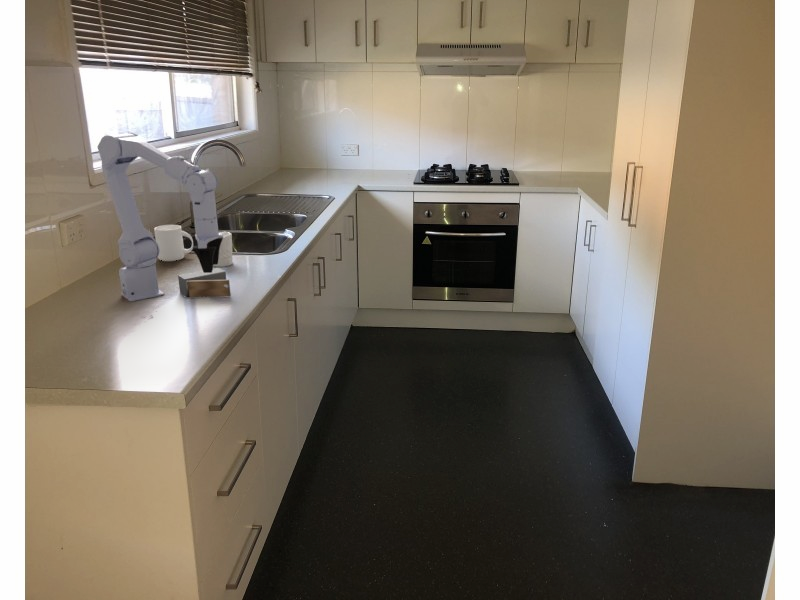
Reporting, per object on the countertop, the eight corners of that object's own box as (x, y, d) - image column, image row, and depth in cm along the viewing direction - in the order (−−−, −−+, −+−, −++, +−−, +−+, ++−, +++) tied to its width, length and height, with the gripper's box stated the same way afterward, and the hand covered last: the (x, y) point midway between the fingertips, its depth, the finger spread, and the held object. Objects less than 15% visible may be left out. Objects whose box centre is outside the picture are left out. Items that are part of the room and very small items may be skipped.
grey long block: (186, 297, 177) (184, 279, 175) (180, 293, 181) (177, 275, 179) (227, 289, 184) (225, 271, 183) (220, 285, 188) (218, 267, 186)
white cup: (239, 263, 211) (236, 233, 207) (221, 268, 204) (218, 238, 201) (222, 259, 215) (219, 230, 211) (204, 265, 208) (201, 235, 205)
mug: (192, 261, 213) (188, 229, 210) (155, 262, 212) (151, 230, 209) (197, 254, 221) (193, 224, 218) (161, 255, 220) (157, 225, 217)
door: (185, 298, 176) (183, 282, 174) (187, 296, 177) (185, 280, 176) (229, 297, 176) (227, 281, 175) (230, 295, 178) (229, 279, 176)
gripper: (215, 223, 158) (221, 275, 163) (226, 212, 172) (230, 260, 177) (186, 224, 158) (193, 276, 162) (199, 212, 172) (204, 261, 176)
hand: (210, 268), depth 169 cm, fingers open, 7 cm apart
